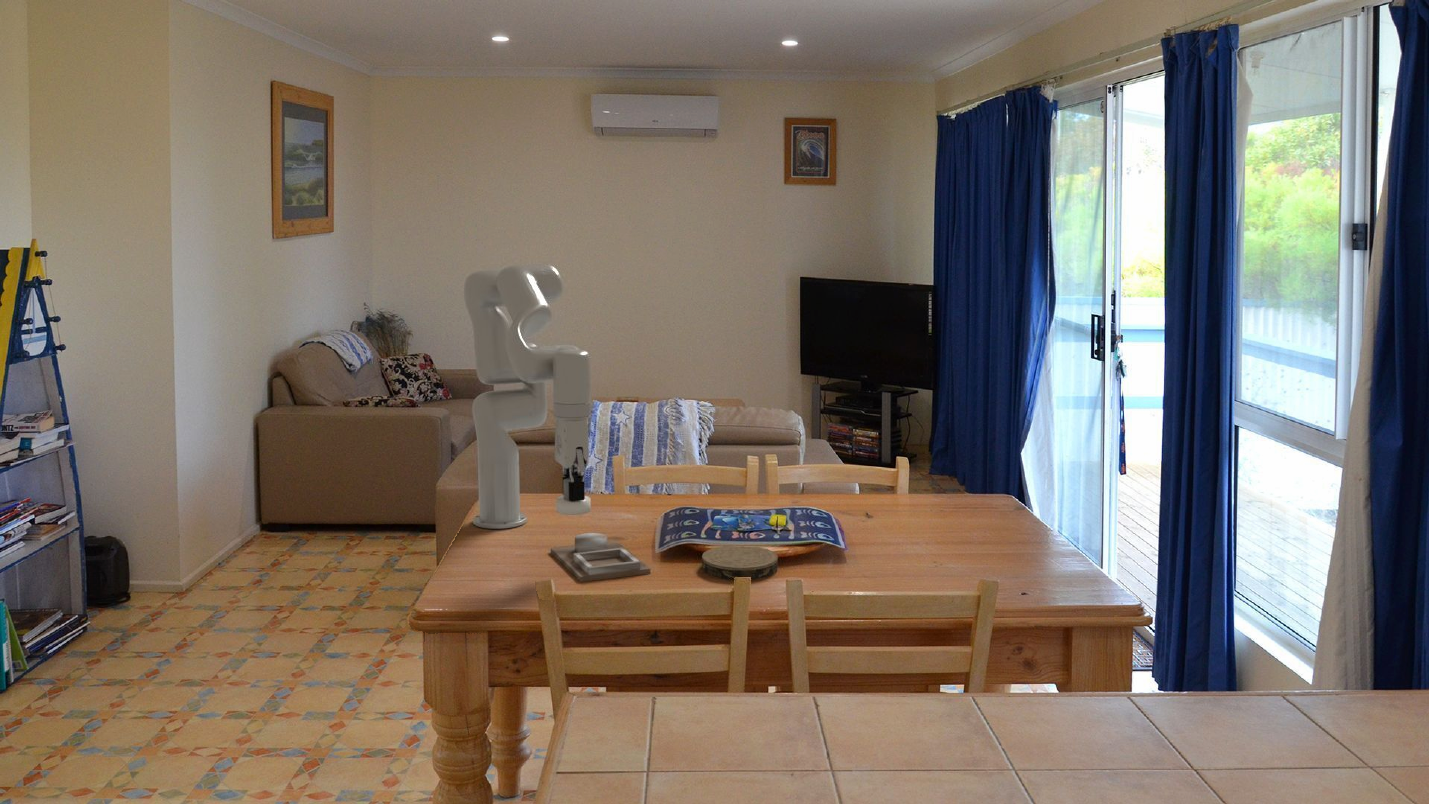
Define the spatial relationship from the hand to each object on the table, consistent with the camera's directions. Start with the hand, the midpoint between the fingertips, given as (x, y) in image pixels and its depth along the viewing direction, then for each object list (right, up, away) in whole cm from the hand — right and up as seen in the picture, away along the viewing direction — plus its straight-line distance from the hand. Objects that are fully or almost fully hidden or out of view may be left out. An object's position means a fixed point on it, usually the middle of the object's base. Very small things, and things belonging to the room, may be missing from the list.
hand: (573, 497), depth 248 cm
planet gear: (0, -3, 0) cm, 3 cm away
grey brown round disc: (+34, -16, +4) cm, 38 cm away
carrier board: (+5, -15, +8) cm, 17 cm away
